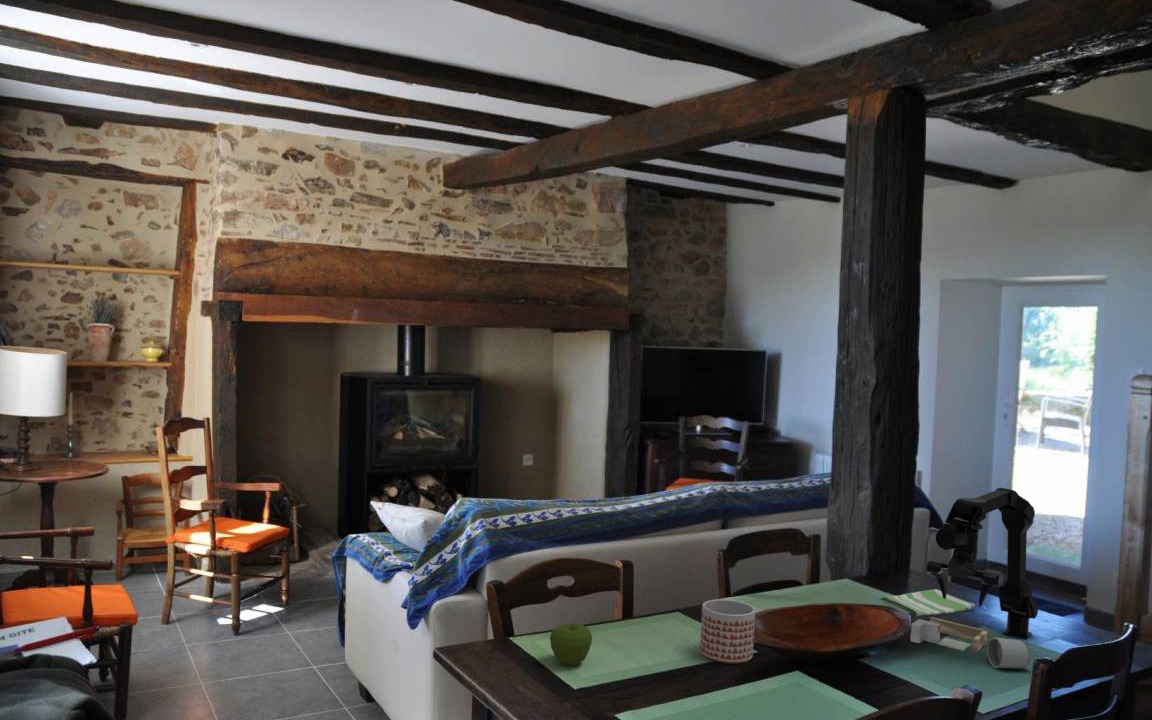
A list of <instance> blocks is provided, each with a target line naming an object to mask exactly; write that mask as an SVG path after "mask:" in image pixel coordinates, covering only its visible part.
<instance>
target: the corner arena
mask: <svg viewBox="0 0 1152 720" xmlns="http://www.w3.org/2000/svg"><path fill="white" fill-rule="evenodd" d="M929 622H933V623H937V624H941V627H940V634H944V635H948V636H949V635H950V636H952V637H953V636H954V637H957V638H961V639H966V640H969V639H970V640H969V641H971V651H970V652H971V653H975V654H977V653H978V652H979V651H980V650H981V648H982V647H983V646H984V647H985V646H987V645H988V644H987V643H989V638H990V637H989V636H990V635H989V634H990V631H989V630H987V629H984V628H983V629H982V628H978V627H974V626H970V625H966V624H964V623H963V624H962V623H958V622H953V621H950V620H947V619H946V620H945V619H941V618H937V617H934V616H931V617H930V616H929ZM984 647H983V648H984ZM983 648H982V649H983Z"/></svg>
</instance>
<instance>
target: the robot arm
mask: <svg viewBox="0 0 1152 720" xmlns="http://www.w3.org/2000/svg"><path fill="white" fill-rule="evenodd" d="M996 510H998V511H999V512H1000V514H1001V522H1002V524H1003V526H1004V527H1005V529H1006V531H1007V558H1006V559H1007V560H1006V580H1005V581H1004V573H1003V572H1002V570H996V569H992V568H991V569H990V568H987V569H986V570H978V564H977V562H978V561H977V560H978V554H979V553H978V552H979V549H978V547H979V546H978V544H979V542H978V541H979V531H980V530H983V528H984V527H983V526H982V524H980V523H981V522H982V521H984V520H985V519H987V515H988V513H991V512H994V511H996ZM1035 515H1036V510H1035V508H1034V506H1033V505H1032V504H1031V503H1030V502H1029V501H1028V500H1027V499H1025V498H1024V497H1022V496H1021V495H1020V494H1018V492H1017V491H1016V490H1014V489H1009V488H1004V487H998V488H996V489H995V490H993V491H991V492H988V493H984V494H983V495H980V496H977V497H976V498H975V497H973V498H972V497H962V498H961V497H960V498H957V499H956V500H955V502H954V503H953V504H952V507H951V508H950V510H949V512H948V515H947V517H946V519H945V521H944V523H943V527H941V528H940V529H938V530H937V532H936V534H935V542H936V545H938V547H939V548H940V549H941V550H945V551H948V550H953V552H952V556H951V557H950V560H949V561H948V562H947V560H945V559H939V558H932V559H930V560H928V561H927V562H926V569H925V570H926V572H930V575H931V576H933V577H935V579H936V580H937V583H938V584H939V585H938V586H939V590H940V591H941V592H942V595H943V599H946V595H947V594H948V576H949V577H951V578H953V577H955V578H959V579H961V580H965V579H967V578H968V576H969V577H975V578H979V579H981V580H982V582H981V583H980V593H979V598H978V608H979V607H980V608H981V607H982V605H983V603H984V601H985V599H986V597H987V595H988V592H989V591H990V589H991V588H994V587H996V586H999V589H998V590H999V594H998V601H999V607H1000V611H1002V612H1006V613H1007V619H1006V620H1007V621H1006V629H1004V631H1002V634H1003V635H1007V636H1011V637H1014V638H1018V639H1023V640H1028V638H1030V637H1031V636H1032V635H1033V633H1032V632H1030V631H1029V625H1030V619H1034V620H1035V619H1036V618H1037V617H1038V613H1039V612H1038V611H1039V608H1038V606H1037V604H1036V603H1035V601H1034V599H1033V591H1032V589H1031V587H1030V585H1029V584H1028V582H1027V580H1026V579H1027V574H1026V573H1027V536H1028V535H1027V534H1028V533H1027V532H1028V531H1029V529H1030V528H1031V527H1032V526H1033V524H1034V518H1035ZM1003 582H1004V583H1003ZM1002 583H1003V584H1002ZM1001 584H1002V585H1001Z"/></svg>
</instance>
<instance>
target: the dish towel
mask: <svg viewBox="0 0 1152 720" xmlns="http://www.w3.org/2000/svg"><path fill="white" fill-rule="evenodd" d="M880 596H881V597H883V598H882V601H885V602H887V603H889V604H891V605H894V606H896V607H898V608H900V609H901V610H905V611H907V612H909V614H913V615H914V616H916V617H920V616H932V615H943V614H944V615H945V614H955V613H956V614H957V613H963V612H967V611H971V610H973V609H974V607H976V605H975V603H973V602H969V601H967V600H964V599H961V598H959V597H956V596H954V595H951V594H949V593H947V595H946V599H943V595H942V592H941V589H937V588H935V589H928V590H920V591H919V590H918V591H915V592H907V593H903V594H901V595H888V594H883V593H882V594H881V595H880Z"/></svg>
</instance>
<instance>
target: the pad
mask: <svg viewBox="0 0 1152 720" xmlns="http://www.w3.org/2000/svg"><path fill="white" fill-rule="evenodd" d="M936 645H937V646H942V647H945V646H946V647H945V648H949V649H954V650H957V651H961V652H964V651H965V650H967V649H968V648H969V647H971V646H972V643H969V642H964V641H960V640H957V639H952V638H949V637H944V638H942V639H940V642H938V643H937V644H936Z"/></svg>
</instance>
